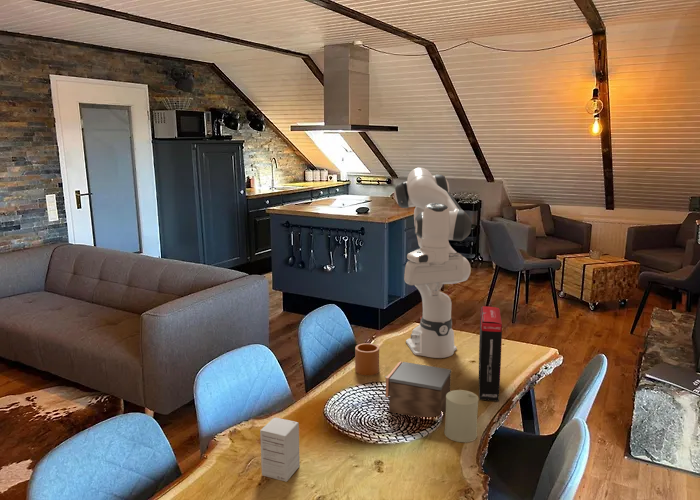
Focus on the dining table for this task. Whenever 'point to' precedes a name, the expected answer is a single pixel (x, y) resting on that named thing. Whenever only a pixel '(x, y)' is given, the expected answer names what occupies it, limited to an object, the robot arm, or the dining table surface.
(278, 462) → the supplement box
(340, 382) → the dining table surface
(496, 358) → the graphics card box
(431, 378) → the lid
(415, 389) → the walnut box
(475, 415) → the can
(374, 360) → the mug
